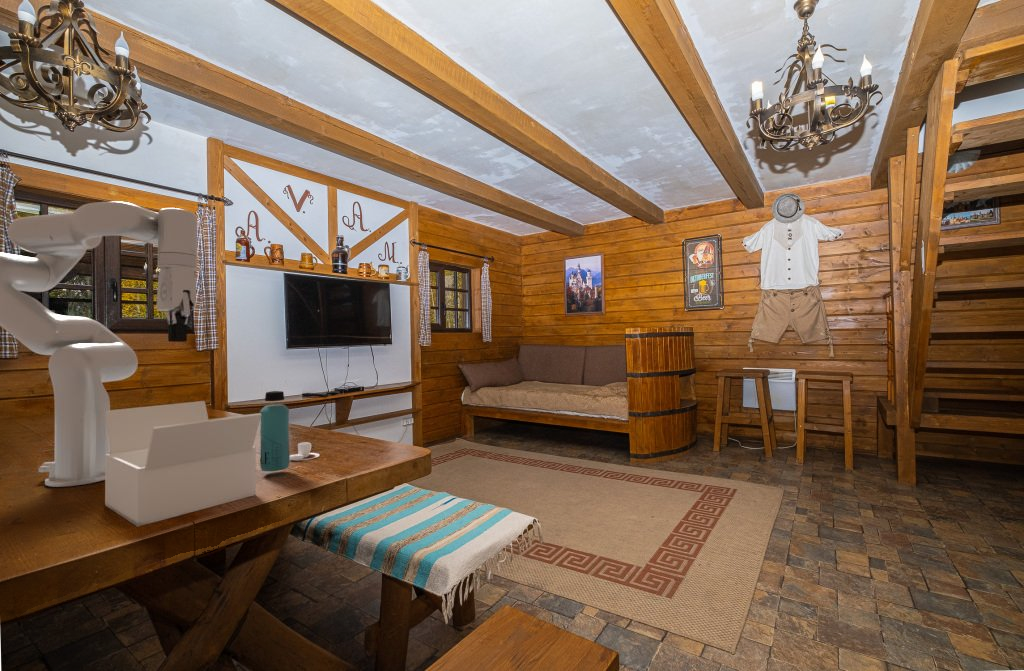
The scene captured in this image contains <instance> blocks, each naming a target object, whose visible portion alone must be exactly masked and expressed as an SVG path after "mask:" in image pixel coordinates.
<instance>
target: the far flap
mask: <svg viewBox="0 0 1024 671" xmlns="http://www.w3.org/2000/svg"><path fill="white" fill-rule="evenodd" d="M105 415H106V422H107V429H108V437H109V444H110V454H112V453H118V452H124V451H131V450H137V449H143V448H149V445H150V440H151V435H152V430H153V427H157V426H164V425H172V424H180V423H187V422H195V421H203V420H209V415H208V411H207V404H206V400H200V401H190V402H181V403H171V404H160V405H151V406H141V407H139V406H138V407H130V408H120V409H110V410H108V411H105Z"/></svg>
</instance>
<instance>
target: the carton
mask: <svg viewBox="0 0 1024 671" xmlns="http://www.w3.org/2000/svg"><path fill="white" fill-rule="evenodd" d="M148 450H149V448H143V449H137V450H131V451H124V452H118V453H112V454H111V453H110V454H105V480H104V484H105V485H104V486H105V487H104V488H105V489H104V492H105V494H104V497H105V498H104V504H105V507H106V508H108V509H110V510H111V511H113V512H115V513H116V514H117V515H119V516H120V517H122V518H124V519H125V520H127V521H129V522H130V523H131V524H133V525H134V526H135V527H137V528H138V527H141V526H146V525H149V524H152V523H157V522H160V521H164V520H169V519H172V518H174V517H179V516H182V515H186V514H190V513H193V512H197V511H201V510H205V509H209V508H212V507H215V506H220V505H223V504H227V503H231V502H234V501H237V500H242V499H246V498H248V497H249V498H250V497H252V496H256V494H257V491H256V490H257V488H256V487H257V486H256V484H257V482H256V480H257V479H256V471H257V469H256V468H257V466H256V465H257V463H256V462H257V460H256V459H257V455H256V453H257V452H256V451H257V449H256V446H254V445H253V448H252V450H247V451H242V452H237V453H232V454H226V455H221V456H216V457H211V458H205V459H200V460H195V461H190V462H184V463H179V464H174V465H169V466H164V467H158V468H153V469H148V470H146V469H145V465H146V460H147V455H148Z"/></svg>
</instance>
